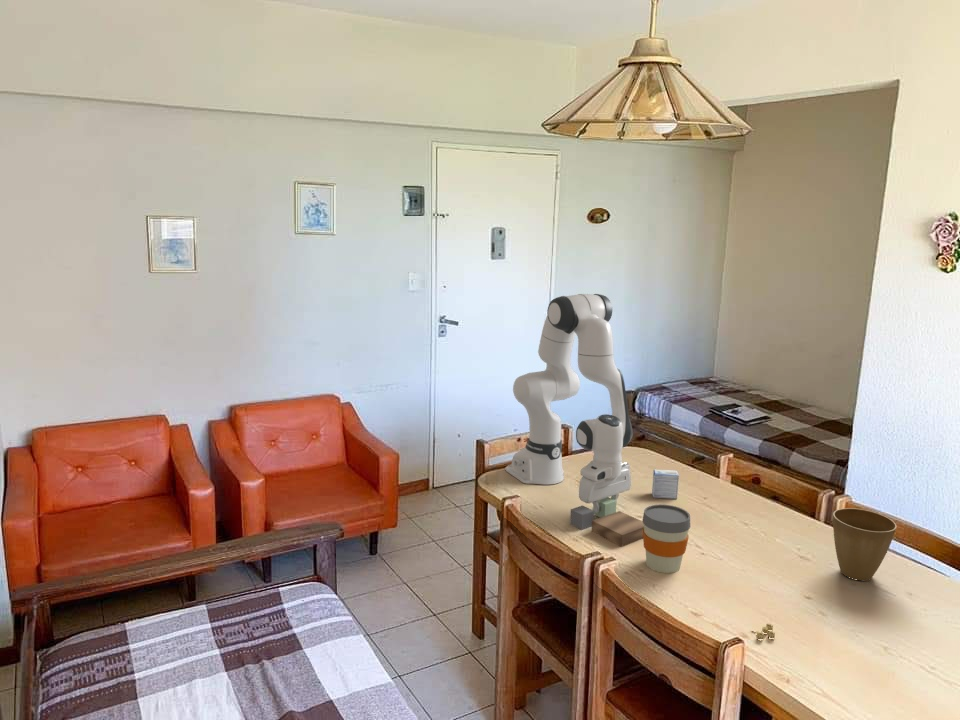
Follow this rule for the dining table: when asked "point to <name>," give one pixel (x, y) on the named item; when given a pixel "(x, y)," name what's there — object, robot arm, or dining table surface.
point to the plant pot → (861, 541)
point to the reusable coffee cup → (665, 537)
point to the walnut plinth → (618, 528)
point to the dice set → (765, 630)
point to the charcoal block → (581, 517)
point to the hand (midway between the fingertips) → (604, 509)
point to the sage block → (606, 507)
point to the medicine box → (665, 484)
